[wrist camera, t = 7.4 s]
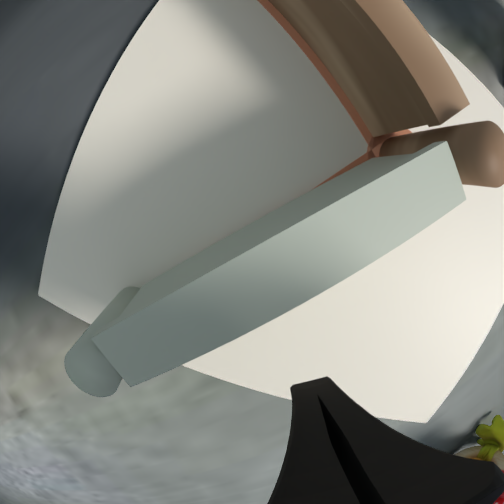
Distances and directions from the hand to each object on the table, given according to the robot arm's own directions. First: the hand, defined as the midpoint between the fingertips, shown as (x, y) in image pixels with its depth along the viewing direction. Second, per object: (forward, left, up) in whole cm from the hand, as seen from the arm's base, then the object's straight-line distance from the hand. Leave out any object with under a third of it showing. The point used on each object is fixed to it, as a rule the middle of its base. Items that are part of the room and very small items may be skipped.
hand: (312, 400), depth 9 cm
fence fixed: (-13, -5, -4) cm, 15 cm away
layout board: (-7, +1, -5) cm, 9 cm away
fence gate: (-3, -4, -4) cm, 6 cm away
